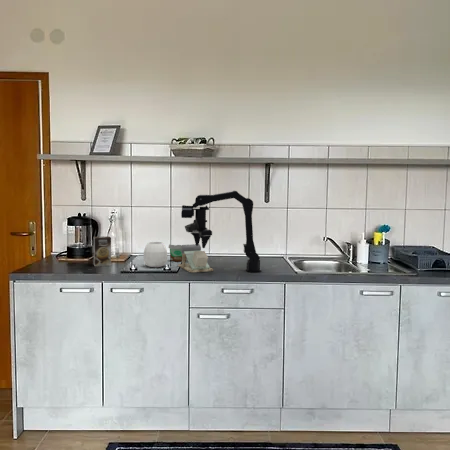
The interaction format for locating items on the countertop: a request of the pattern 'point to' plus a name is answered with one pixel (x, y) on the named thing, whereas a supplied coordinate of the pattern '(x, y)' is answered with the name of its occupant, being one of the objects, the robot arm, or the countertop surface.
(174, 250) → the food container
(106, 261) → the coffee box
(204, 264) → the beige cube
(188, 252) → the trapdoor
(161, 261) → the white round vase
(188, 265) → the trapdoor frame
